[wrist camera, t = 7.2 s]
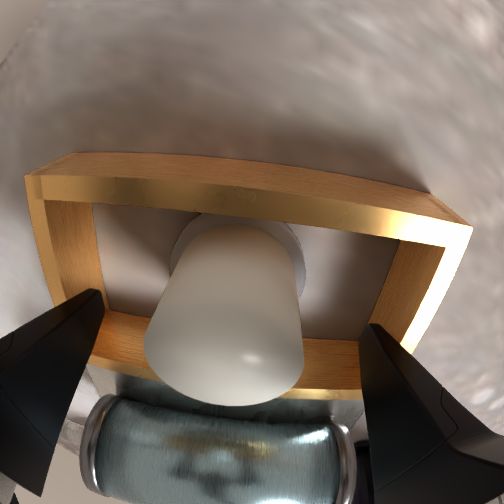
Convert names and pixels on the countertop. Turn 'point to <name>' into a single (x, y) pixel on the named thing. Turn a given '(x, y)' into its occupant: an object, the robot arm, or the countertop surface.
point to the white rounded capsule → (230, 312)
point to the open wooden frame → (315, 350)
